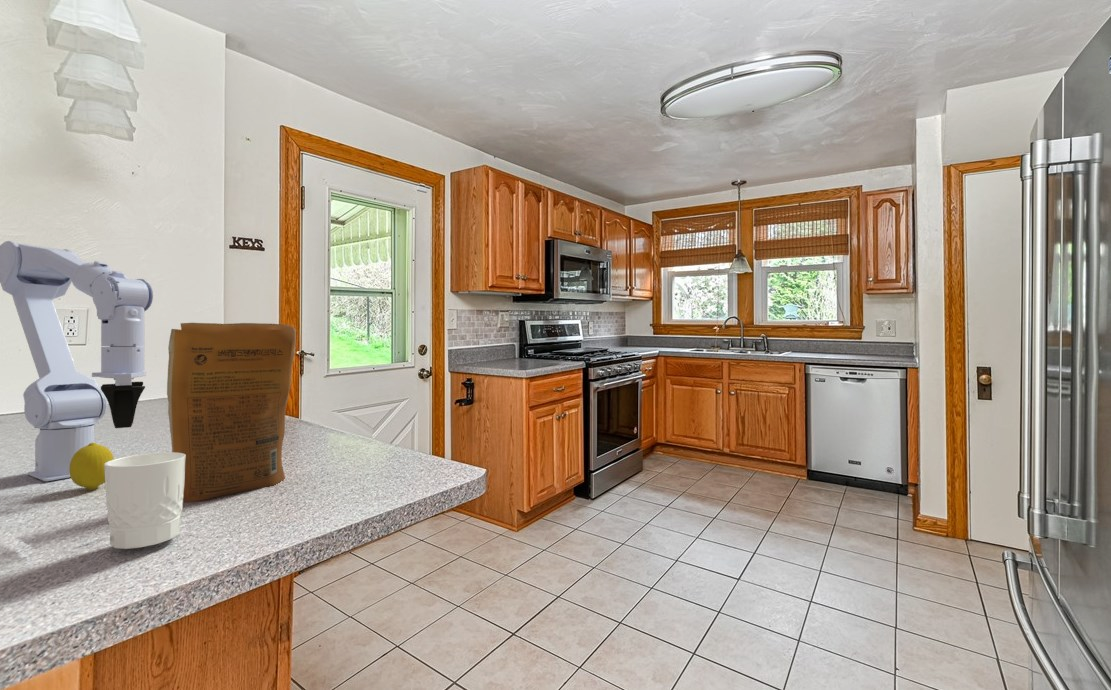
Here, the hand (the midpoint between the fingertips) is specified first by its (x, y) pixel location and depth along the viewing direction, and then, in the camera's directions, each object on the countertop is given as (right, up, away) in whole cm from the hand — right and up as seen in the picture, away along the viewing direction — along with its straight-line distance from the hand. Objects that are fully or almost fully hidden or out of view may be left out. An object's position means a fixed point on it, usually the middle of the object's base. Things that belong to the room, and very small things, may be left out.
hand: (123, 424), depth 87 cm
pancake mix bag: (+22, -11, -4) cm, 25 cm away
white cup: (+24, -11, -24) cm, 36 cm away
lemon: (-2, -11, -3) cm, 11 cm away
